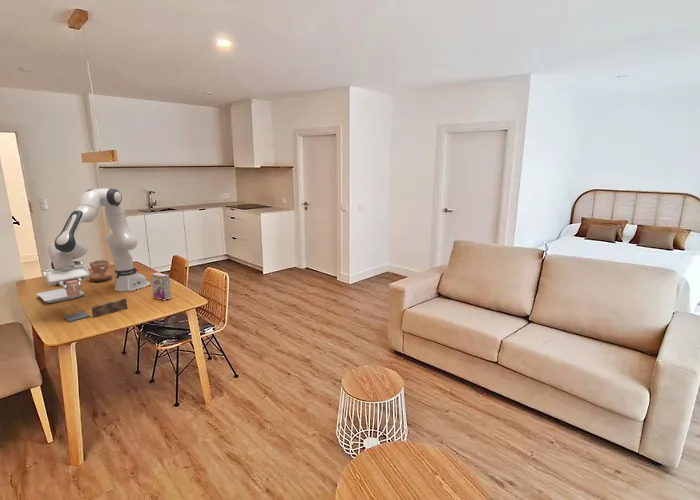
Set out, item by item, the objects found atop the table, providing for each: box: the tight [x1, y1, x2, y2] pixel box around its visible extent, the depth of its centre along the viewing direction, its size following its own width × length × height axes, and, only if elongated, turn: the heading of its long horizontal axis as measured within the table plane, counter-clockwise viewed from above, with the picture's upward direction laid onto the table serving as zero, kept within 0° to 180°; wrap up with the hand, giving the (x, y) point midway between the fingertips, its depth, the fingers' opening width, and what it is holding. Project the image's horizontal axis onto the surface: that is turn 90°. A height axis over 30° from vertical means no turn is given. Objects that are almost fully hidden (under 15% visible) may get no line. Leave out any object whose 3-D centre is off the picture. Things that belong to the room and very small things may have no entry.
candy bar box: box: [150, 272, 172, 299], centre depth 250 cm, size 11×5×16 cm, turn 65°
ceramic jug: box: [88, 259, 113, 283], centre depth 284 cm, size 18×14×14 cm
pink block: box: [65, 280, 81, 297], centre depth 215 cm, size 5×5×8 cm
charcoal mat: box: [63, 310, 91, 323], centre depth 219 cm, size 10×10×1 cm
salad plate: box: [36, 287, 85, 304], centre depth 249 cm, size 21×21×3 cm
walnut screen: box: [91, 298, 128, 318], centre depth 226 cm, size 18×2×6 cm, turn 142°
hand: (72, 287), depth 215 cm, fingers closed on pink block, 5 cm apart
